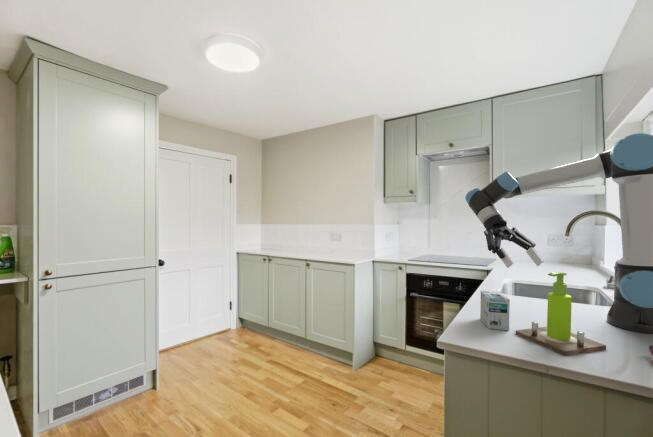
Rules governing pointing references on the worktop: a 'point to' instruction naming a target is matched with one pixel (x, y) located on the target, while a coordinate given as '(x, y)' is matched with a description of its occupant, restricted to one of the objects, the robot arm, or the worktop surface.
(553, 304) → the soap dispenser
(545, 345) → the locator board
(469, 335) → the worktop surface
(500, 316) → the light bulb box
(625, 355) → the worktop surface
